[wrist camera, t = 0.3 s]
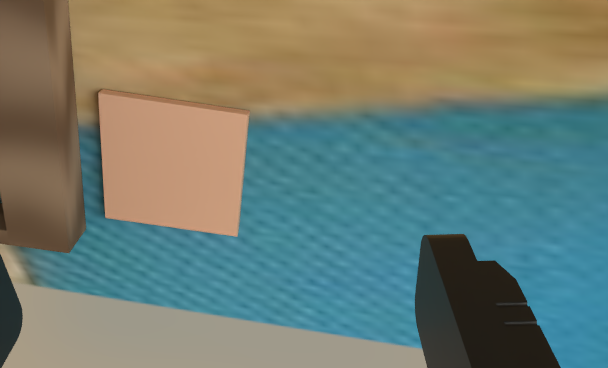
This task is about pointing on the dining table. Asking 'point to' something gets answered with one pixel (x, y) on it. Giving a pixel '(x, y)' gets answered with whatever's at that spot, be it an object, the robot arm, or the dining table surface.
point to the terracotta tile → (172, 162)
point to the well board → (38, 128)
